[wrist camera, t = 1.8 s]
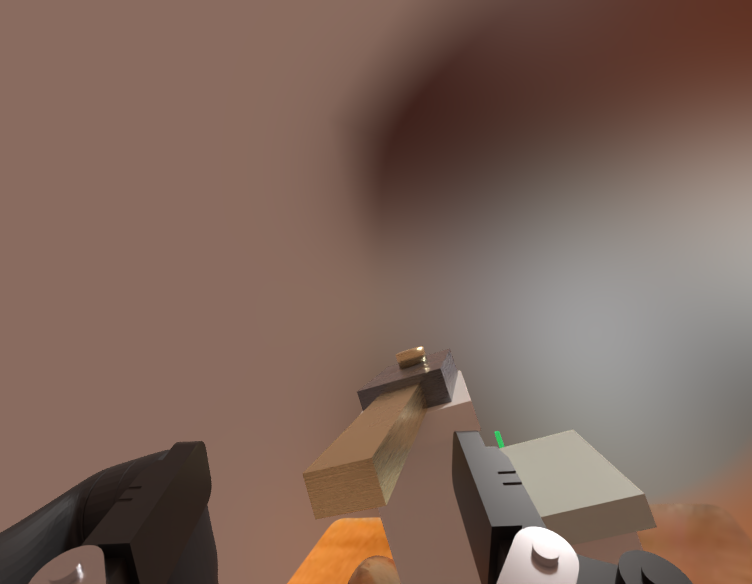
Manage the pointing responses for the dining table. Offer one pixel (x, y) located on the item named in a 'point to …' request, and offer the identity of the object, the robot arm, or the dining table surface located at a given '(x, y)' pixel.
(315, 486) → the wooden handled tool
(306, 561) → the dining table surface
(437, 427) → the stepped stand
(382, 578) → the onion
